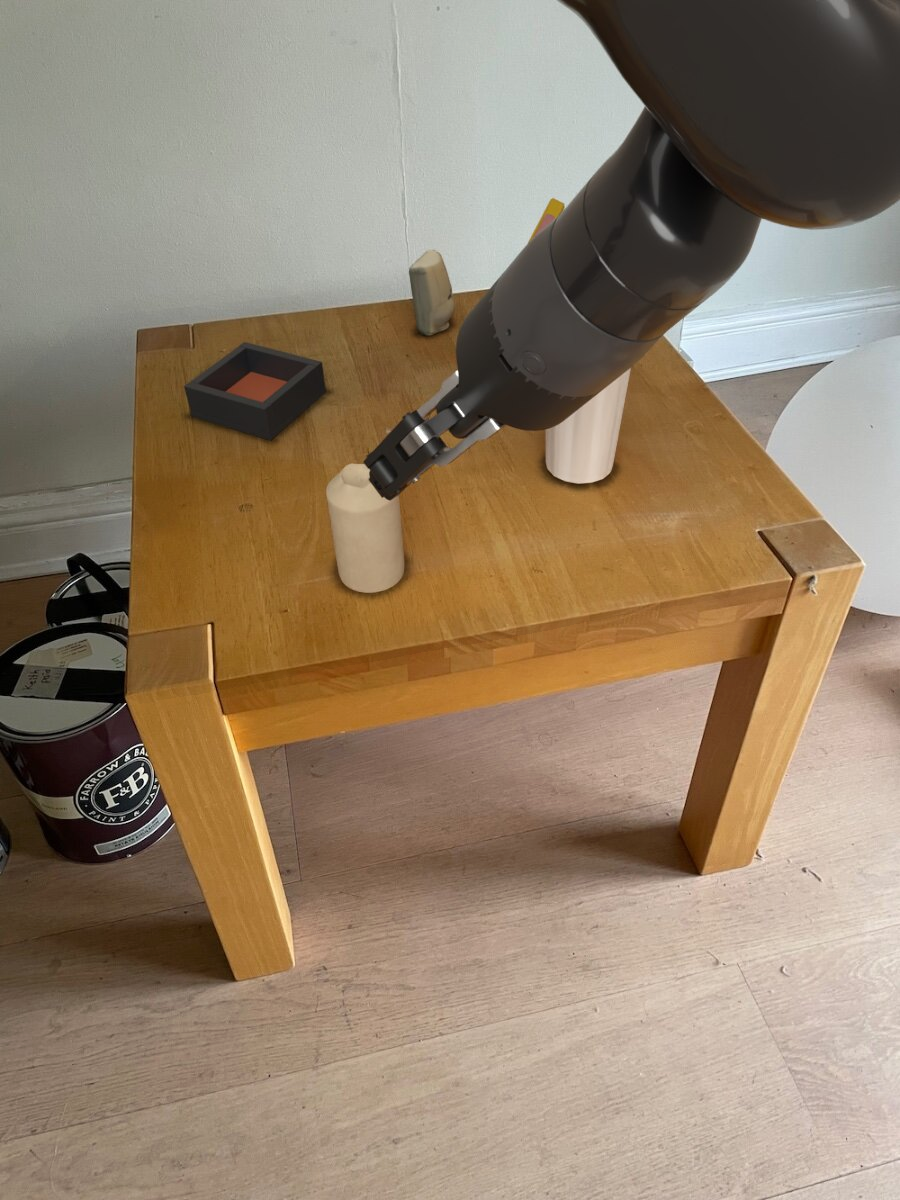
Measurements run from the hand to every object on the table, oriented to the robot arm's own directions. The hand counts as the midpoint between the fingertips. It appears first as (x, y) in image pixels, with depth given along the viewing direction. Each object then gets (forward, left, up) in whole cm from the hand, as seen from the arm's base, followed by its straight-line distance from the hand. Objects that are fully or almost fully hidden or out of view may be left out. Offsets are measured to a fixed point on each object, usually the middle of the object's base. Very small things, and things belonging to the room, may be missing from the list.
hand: (428, 454), depth 57 cm
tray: (+20, +32, -16) cm, 41 cm away
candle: (+3, +8, -17) cm, 19 cm away
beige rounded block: (+43, +24, -17) cm, 52 cm away
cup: (+24, -2, -17) cm, 30 cm away
